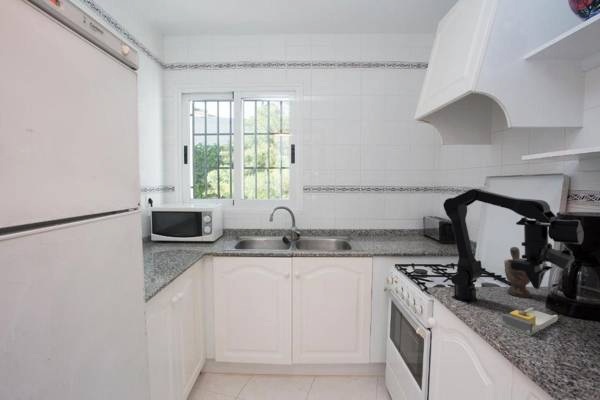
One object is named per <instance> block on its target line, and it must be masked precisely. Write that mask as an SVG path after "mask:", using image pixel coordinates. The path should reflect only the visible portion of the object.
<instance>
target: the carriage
mask: <svg viewBox="0 0 600 400" xmlns="http://www.w3.org/2000/svg"><path fill="white" fill-rule="evenodd" d="M509 315H511V316H514V317H517V318H520V319H523V320H525V321H528V322H531V323H532V327H533V326H535V325H536V316H534V315H531V314H528V313H527V312H525V310H522V309H521V310H520V309H519V310H518V309H514V310H513V311H510V312H509Z"/></svg>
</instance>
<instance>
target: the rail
mask: <svg viewBox="0 0 600 400" xmlns="http://www.w3.org/2000/svg"><path fill="white" fill-rule="evenodd" d="M524 311H525V312H527V313H528V314H531V315H534V316H536V325H535V326H533V327H532V323H531V322H528V321H525V320H523V319H520V318H517V317H514V316H511V315H510V314H507V313H504V314H502V326H503V327H504V326H506V327H505V328H507V327H508V328H507V329H510V328H511V329H510V330H512V329H513V331H515V330H516V331H515V332H518V331H519V332H518V333H520V332H522V333H521V334H523V333H524V335H526V334H527V336H528V335H530V336H529V337H531V336H533V335H534V333H535V334H537V333H538V332H540V331H541V329H542V330H543V329H545V328H546V327H549V326H550V325H552V324H553V323H555V322H557V321H558V318H559V317H558V314H553V315H551V314H548V313H545V312H542V311H540V310H539V311H538V310H535V309H534V307H529V308H526V309H524ZM539 330H540V331H539ZM532 334H533V335H532Z"/></svg>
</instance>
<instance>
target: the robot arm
mask: <svg viewBox="0 0 600 400" xmlns="http://www.w3.org/2000/svg"><path fill="white" fill-rule="evenodd" d="M476 201H478V202H481V203H485V204H488V205H492V206H497V207H500V208H504V209H508V210H510V211H512V212H513V213H515V214H517V215H520V216H522V217H521V218H520V220H518V221H516V223H515V224H516V225H517V226H524V227H523V228H524V229H523V231H524V234H523V236H524V239H523V240H524V241H522V242H521V246H523V247H524V254H522V255H521V257H520V258H519V259H515V260H513V261H512V262H511V268H512V269H516V270H521V271H524V272H525V274H526V275H527V277H528V278H529V280H530V284H531V285H532V287H533V289H535V290H539V289H540V288H541V285H542V283H543V280H544V276H545V275H546V272H548V271H550V270H552V269H554V267H553V266H550V265H548V263H551V264H552V265H554V266H557V267H558V268H560V269H564V270H566V269H567V268H571V265H572V263H573V262H575V261H576V259H575V256H574V253H573V252H574V251H572V250H570V249H568V248H565V249H563V250H559V249H557V250H556V249H554V248H553V245H552V243H551V242H550V243H549V238H550V240H552V241H553V242H555V243H565V244H573V245H574V244H575V245H582V243H583V242H584V230H583V226H582V224H581V220H579V219H571V220H567V219H566V220H565V219H559V217H558V216H556V214H555V213H553V211H552V210H551V207H550V205H549V203H548V202H547V201H545V200H541V199H532V198H519V197H517V198H516V197H512V196H508V195H503V194H500V193H495V192H492V191H488V190H487V191H486V190H484V189H481V188H471V189H468V190H467V191H465V192H464V193H461V194H458V195H457V196H454V197H449V198H447V199H445V201H444V202H443V209H444V212H445V215H446V217H448V218H449V220H450V222H451V226H452V229H453V235H454V239H455V244H456V249H457V253H458V254H457V255H458V261H457V264H456V271H457V273H456V274H455V275H453V276H452V277H450V281H451V283H452V285H454V286H453V290H454V292H453V293H454V294H453V295H451V298H453V299H456V300H458V301H462V302H463V303H464V302H465V303H467V304H468V303H469V304H470V303H472V302H475V301H477V300H478V297H477V289H476V286H475V285H476V284H475V283H477V281H478V279H480V278H481V277H482V275H483V272H484V270H483V267H482V261H481V260H477V259H476V258H475V256H474V253H473V250H472V249H473V248H472V245H471V239H470V235H469V230H468V227H467V222H466V220H467V219H466V218H467V213H468V207H469V206H470V205H473V203H475V202H476Z"/></svg>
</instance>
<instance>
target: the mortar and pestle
mask: <svg viewBox="0 0 600 400" xmlns="http://www.w3.org/2000/svg"><path fill="white" fill-rule="evenodd" d="M509 251H510V252H509V253H510V256H511V258H512V259H511V258H510V259H505V260H504V261H503V262H504V273H505V276H506V277H505V278H506V279H507V281H508V282H510V284H511V285H510V286H509V287H508V289H507V290H506V293H508V294H509V295H512V296H515V297H518V298H529V297H531V296H532V294H531V292H530V290H529V289H528V288H527V286H528V285H529V284H531V282H530V280H529V278H528V277H527V275H526V274H525V272H524V271H521V270H516V269H512V268H511V262H512V261H513V260H515V259H519V258H521V257H520V256H521V255H520V253H521V252H520V249H519V247H517V246H512V247H510V250H509Z"/></svg>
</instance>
